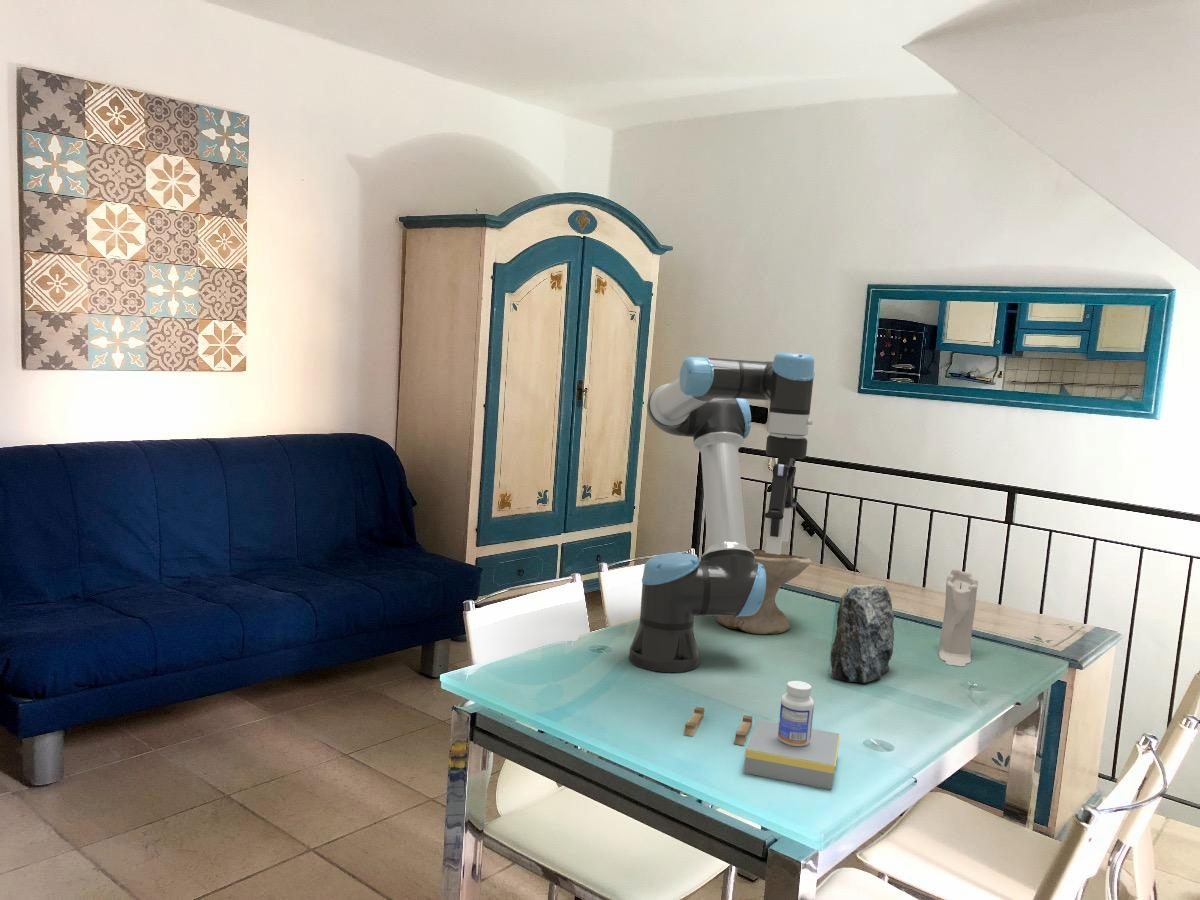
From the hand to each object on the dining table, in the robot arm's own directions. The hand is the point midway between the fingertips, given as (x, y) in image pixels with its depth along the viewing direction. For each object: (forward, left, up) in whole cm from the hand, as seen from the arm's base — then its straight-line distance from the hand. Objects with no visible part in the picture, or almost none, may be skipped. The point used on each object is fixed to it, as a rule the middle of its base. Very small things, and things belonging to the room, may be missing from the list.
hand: (777, 547), depth 186 cm
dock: (+8, -24, -32) cm, 41 cm away
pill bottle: (+8, -24, -28) cm, 38 cm away
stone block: (+18, +31, -32) cm, 48 cm away
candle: (+38, +55, -32) cm, 74 cm away
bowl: (-10, +58, -32) cm, 67 cm away
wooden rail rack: (-6, -15, -32) cm, 36 cm away
